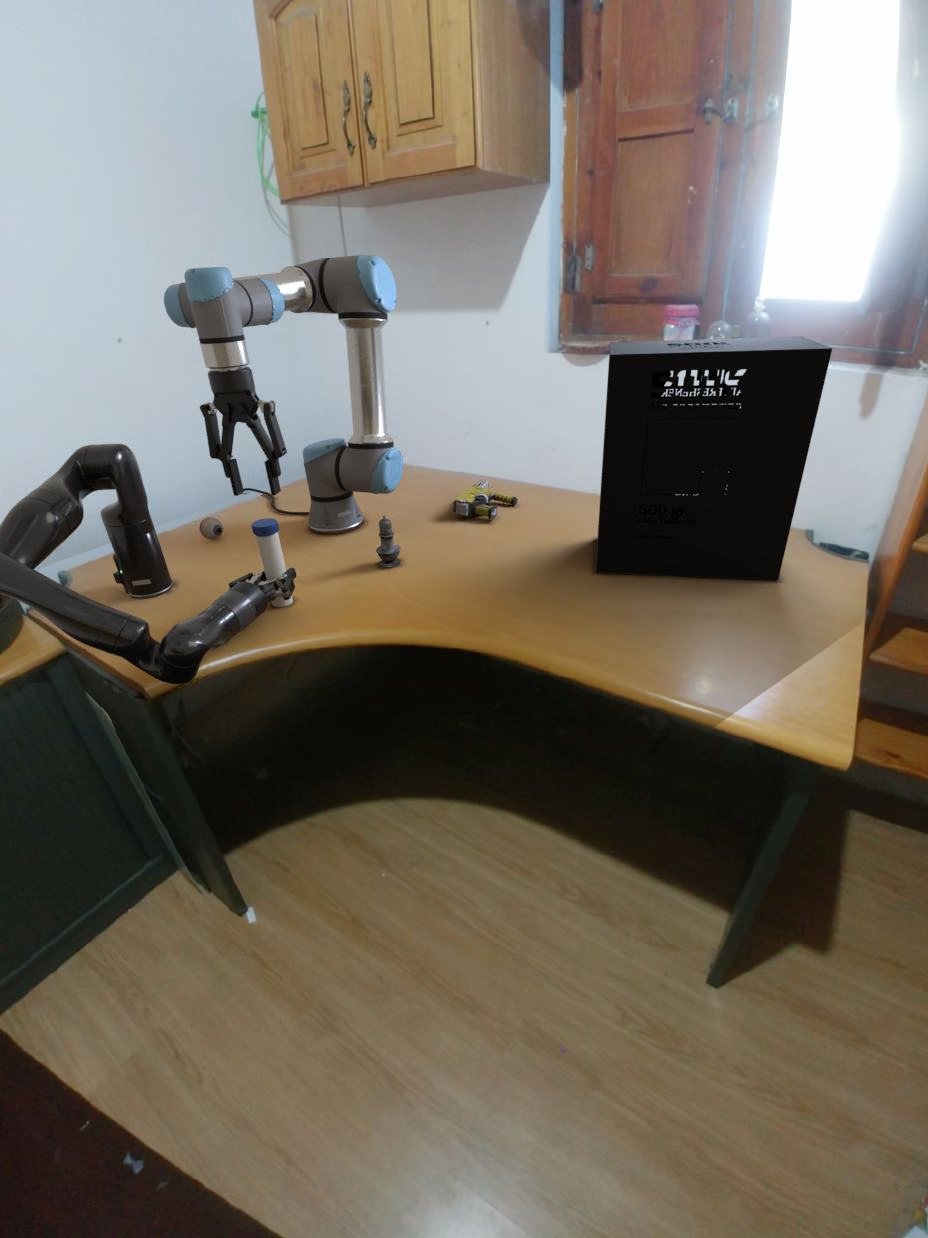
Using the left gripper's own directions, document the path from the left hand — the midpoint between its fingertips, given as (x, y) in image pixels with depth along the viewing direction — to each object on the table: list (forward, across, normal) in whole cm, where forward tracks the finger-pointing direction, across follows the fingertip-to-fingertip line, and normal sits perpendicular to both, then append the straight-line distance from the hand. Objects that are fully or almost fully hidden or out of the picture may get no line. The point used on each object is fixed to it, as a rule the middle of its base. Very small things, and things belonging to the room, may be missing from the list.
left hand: (283, 570), depth 130 cm
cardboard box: (+34, +82, -6) cm, 90 cm away
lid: (-3, 0, +12) cm, 12 cm away
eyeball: (+27, -38, -6) cm, 47 cm away
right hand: (-3, 0, +18) cm, 18 cm away
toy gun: (+62, +30, -6) cm, 69 cm away
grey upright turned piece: (+20, +16, -6) cm, 26 cm away
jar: (-3, 0, -6) cm, 7 cm away
